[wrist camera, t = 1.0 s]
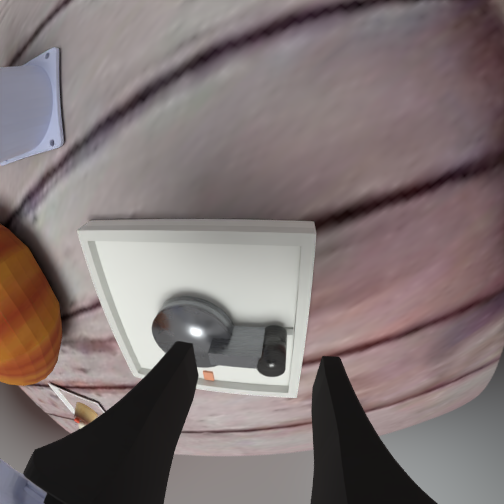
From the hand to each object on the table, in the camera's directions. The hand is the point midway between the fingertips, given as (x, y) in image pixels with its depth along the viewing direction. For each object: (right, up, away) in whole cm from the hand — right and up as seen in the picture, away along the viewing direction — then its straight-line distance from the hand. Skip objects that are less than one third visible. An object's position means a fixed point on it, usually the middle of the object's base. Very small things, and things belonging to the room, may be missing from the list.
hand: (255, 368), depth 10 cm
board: (-4, -1, +12) cm, 12 cm away
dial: (-2, -1, +10) cm, 11 cm away
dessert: (-29, -23, +29) cm, 47 cm away
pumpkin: (-27, +1, +14) cm, 31 cm away
